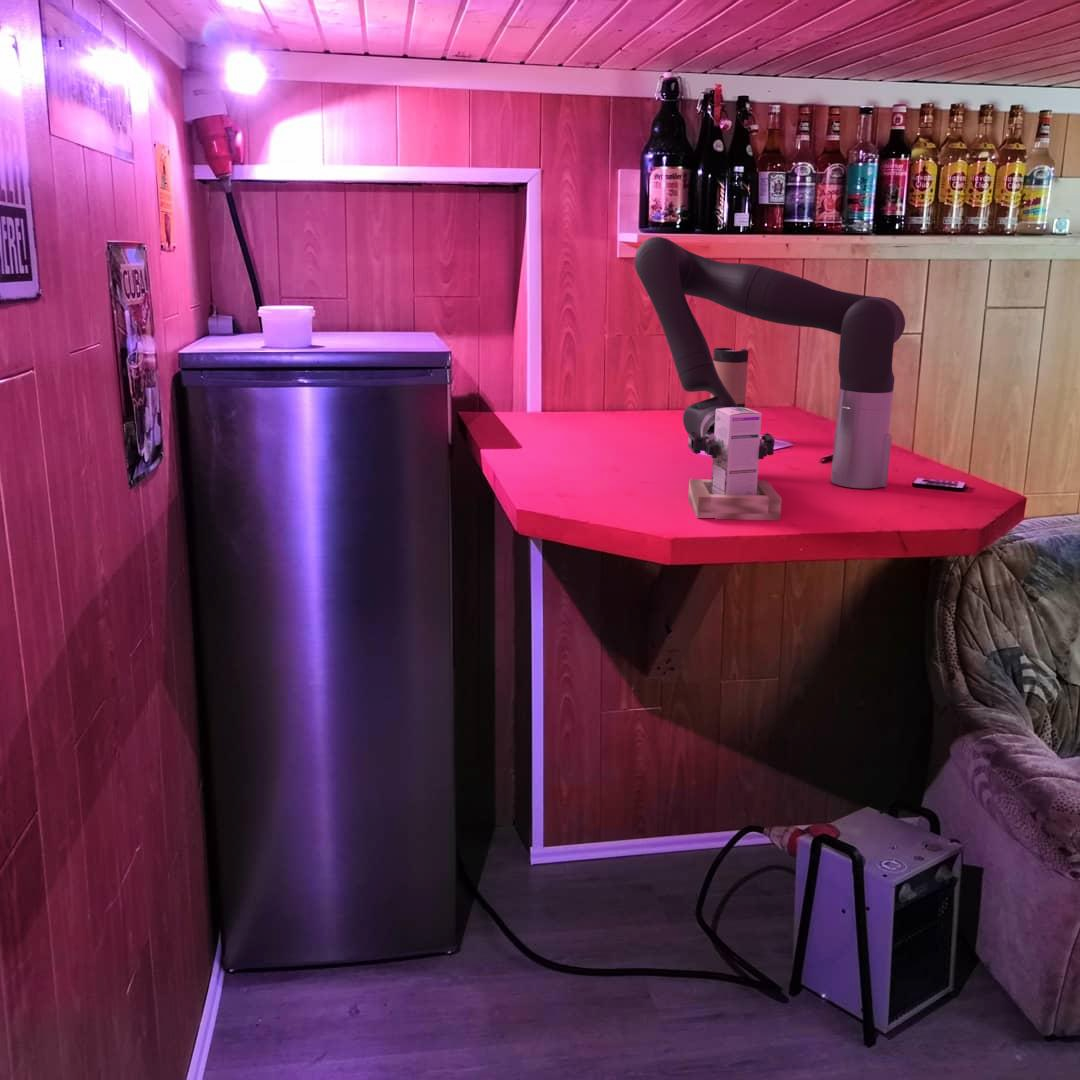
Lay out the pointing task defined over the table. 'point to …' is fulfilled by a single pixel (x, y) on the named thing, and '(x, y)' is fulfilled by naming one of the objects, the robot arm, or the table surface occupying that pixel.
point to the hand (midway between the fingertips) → (738, 452)
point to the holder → (734, 502)
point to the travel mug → (732, 372)
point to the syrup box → (736, 451)
